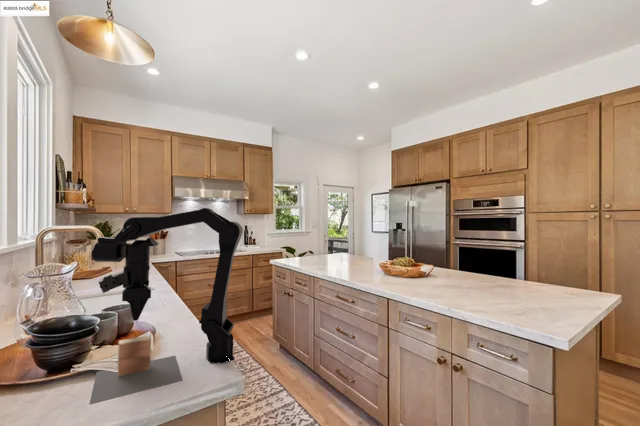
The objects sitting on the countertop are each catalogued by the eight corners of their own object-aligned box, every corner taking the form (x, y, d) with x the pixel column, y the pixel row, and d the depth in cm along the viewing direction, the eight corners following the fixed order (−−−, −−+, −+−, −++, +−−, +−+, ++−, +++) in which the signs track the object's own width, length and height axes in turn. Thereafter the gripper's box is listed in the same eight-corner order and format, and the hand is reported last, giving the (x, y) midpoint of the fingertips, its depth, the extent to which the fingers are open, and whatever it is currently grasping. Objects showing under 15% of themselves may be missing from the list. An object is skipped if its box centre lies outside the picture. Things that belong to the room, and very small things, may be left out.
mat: (175, 357, 84) (175, 355, 84) (182, 382, 71) (182, 380, 71) (96, 374, 74) (96, 371, 74) (89, 407, 61) (89, 404, 61)
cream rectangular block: (149, 364, 78) (150, 334, 78) (150, 369, 76) (151, 338, 76) (117, 371, 74) (119, 340, 74) (117, 377, 72) (118, 344, 72)
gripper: (104, 259, 85) (102, 313, 85) (98, 269, 69) (95, 335, 69) (148, 257, 91) (146, 307, 91) (152, 266, 75) (149, 327, 75)
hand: (135, 318), depth 81 cm, fingers open, 4 cm apart
